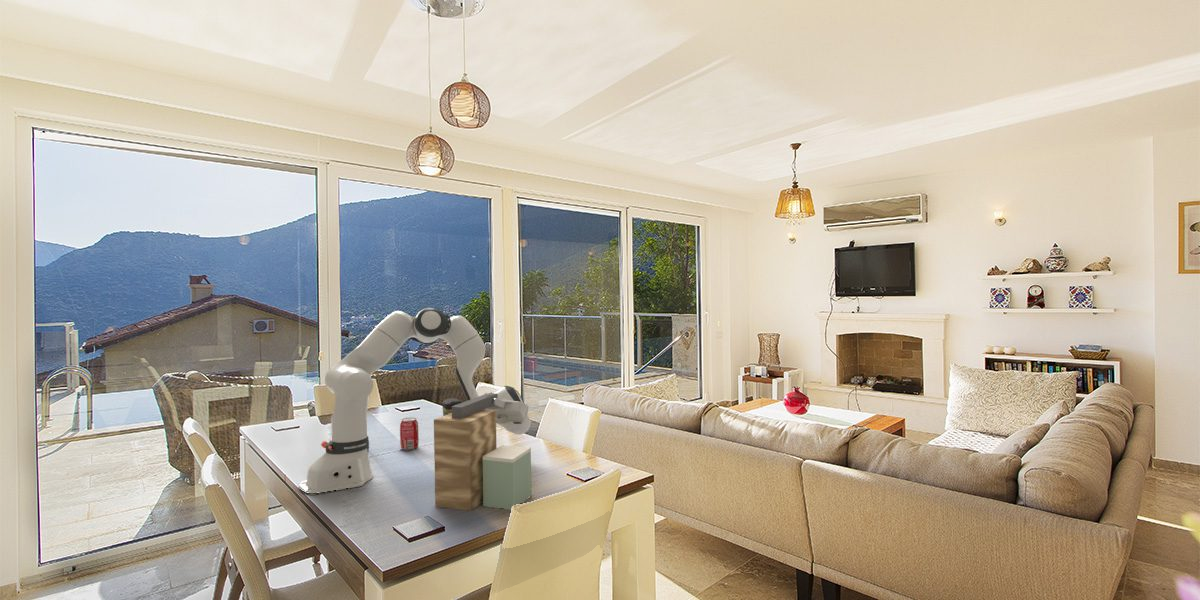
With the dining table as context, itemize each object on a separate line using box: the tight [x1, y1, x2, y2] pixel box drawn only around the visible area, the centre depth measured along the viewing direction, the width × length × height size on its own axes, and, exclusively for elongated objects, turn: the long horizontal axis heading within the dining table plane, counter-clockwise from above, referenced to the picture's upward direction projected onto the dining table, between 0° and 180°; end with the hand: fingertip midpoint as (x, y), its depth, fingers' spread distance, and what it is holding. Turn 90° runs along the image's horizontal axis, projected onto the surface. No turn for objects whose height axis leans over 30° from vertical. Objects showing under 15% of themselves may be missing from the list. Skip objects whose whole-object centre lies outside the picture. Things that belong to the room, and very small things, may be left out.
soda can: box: [399, 417, 420, 451], centre depth 227 cm, size 7×7×12 cm
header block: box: [482, 445, 532, 511], centre depth 170 cm, size 12×10×15 cm
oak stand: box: [433, 410, 498, 511], centre depth 172 cm, size 16×12×26 cm
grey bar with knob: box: [452, 391, 498, 419], centre depth 177 cm, size 22×4×4 cm, turn 162°
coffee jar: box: [442, 397, 464, 416], centre depth 234 cm, size 10×8×19 cm
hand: (487, 400), depth 184 cm, fingers closed on grey bar with knob, 3 cm apart
